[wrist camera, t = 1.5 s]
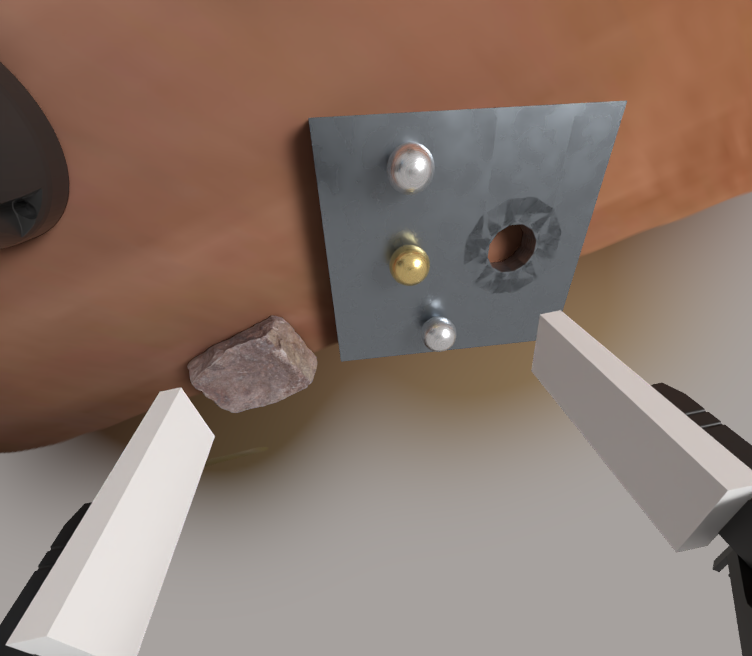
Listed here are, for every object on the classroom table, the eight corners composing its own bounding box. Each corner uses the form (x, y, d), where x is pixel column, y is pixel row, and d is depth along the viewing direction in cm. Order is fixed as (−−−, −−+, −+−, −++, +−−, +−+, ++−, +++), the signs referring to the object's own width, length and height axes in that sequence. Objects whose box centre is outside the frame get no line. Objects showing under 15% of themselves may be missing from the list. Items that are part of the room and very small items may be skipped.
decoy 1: (384, 191, 26) (390, 201, 23) (382, 142, 24) (390, 145, 21) (426, 189, 26) (438, 197, 23) (428, 139, 24) (442, 141, 22)
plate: (340, 347, 37) (341, 361, 35) (310, 118, 25) (308, 118, 23) (541, 326, 39) (553, 338, 37) (604, 102, 27) (627, 100, 25)
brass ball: (387, 277, 30) (392, 294, 27) (385, 240, 28) (392, 254, 25) (423, 274, 30) (433, 290, 28) (425, 237, 29) (435, 251, 26)
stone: (185, 353, 35) (167, 381, 31) (275, 302, 34) (269, 326, 30) (242, 402, 40) (232, 433, 36) (323, 360, 38) (323, 387, 34)
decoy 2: (416, 340, 34) (424, 360, 32) (417, 311, 33) (426, 330, 30) (448, 336, 35) (459, 356, 32) (451, 308, 33) (463, 326, 30)
